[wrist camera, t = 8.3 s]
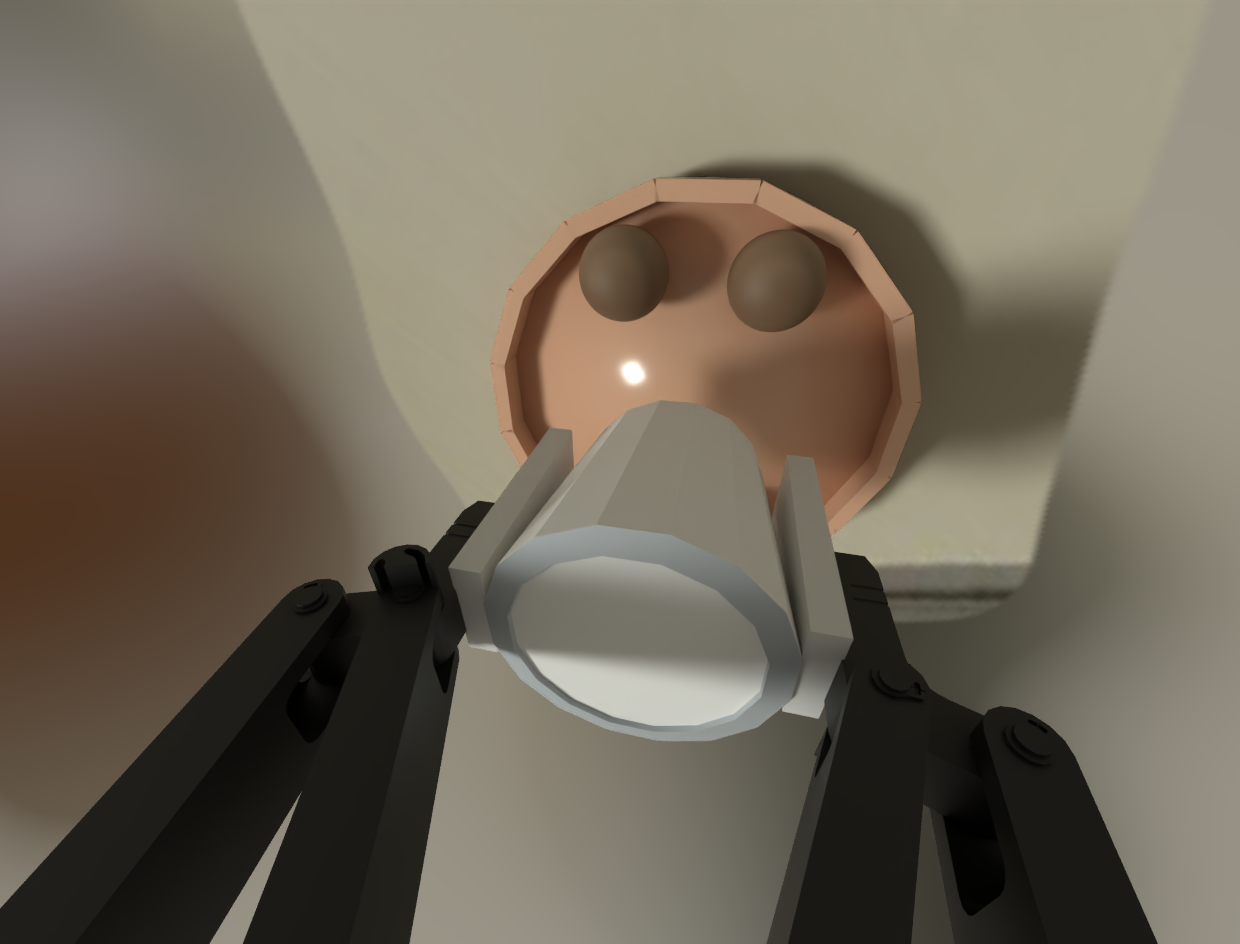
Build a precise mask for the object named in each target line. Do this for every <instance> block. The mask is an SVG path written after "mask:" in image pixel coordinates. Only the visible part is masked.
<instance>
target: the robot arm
mask: <svg viewBox="0 0 1240 944" xmlns="http://www.w3.org/2000/svg"><path fill="white" fill-rule="evenodd" d="M573 469H574V457H573V439H572V430H567V429H559V428H549V430H548V431H547V432H546V434H545V435H544V436H543V438H542V439H541V441H540V442H539V443H538V445H537V446H536V447H535V449H534V450H533V452H532V453H531V454H530V456H529V457H528V458H527V460H526V461H525V463H524V464H523V465H522V467H521V468H520V469H519V471H518V472H517V474H516V475H515V476H514V478H513V479H512V480H511V482H510V483H509V485H508V486H507V487H506V489H505V490H504V491H503V493H502V494H501V496H500V497H499V498H498V500H497V501H496V502H495V503H491V502H484V501H477V502H476V503H474V504H473V505H471V506H470V507H468V508H467V509H465V510H464V511H463V512H462V513H461V514H460V516H459V517H458V518H457V519H456V521H455V522H454V525H452V526H451V527H450V528H449V529H448V531H447V532H446V535H444V536H443V537H442V538H441V539H440V540H439V542H438V543H437V544H436V545H435V547H434V548H433V549H432V550H431V552H430V553H429V552H428V550H427V549H426V548H423V547H421V546H419V545H402V546H398V547H394V548H391V549H389V550H387V551H385V552H383V553H381V554H380V555H379V556H377V557H376V558H375V559H374V560H373V561H372V562H371V564H370V565H369V567H368V570H369V572H370V575H371V577H372V580H373V582H374V584H375V587H376V589H377V591H370V592H359V593H348V594H346V592H345V590H344V588H343V586H342V585H341V584H340V583H339V582H338V581H335V580H331V579H320V580H319V579H318V580H314V581H312V582H308V583H305V584H303V585H301V586H299V587H297V588H295V589H293V590H292V591H291V592H290V593H289V594H287V595H286V596H285V597H284V598H283V599H282V600H281V601H280V602H279V604H277V606H276V607H275V608H274V609H273V610H272V611H271V612H270V613H269V614H268V615H267V616H266V618H265V619H264V620H263V621H262V622H261V623H260V624H259V625H258V626H257V628H256V629H255V630H254V631H253V632H252V633H251V634H250V635H249V636H248V637H247V638H246V639H245V641H244V642H243V643H242V644H241V645H240V646H239V647H238V648H237V649H236V651H235V652H234V653H233V654H232V655H231V656H230V657H229V658H228V659H227V660H226V662H225V663H224V664H223V665H222V666H221V667H220V668H219V669H218V670H217V672H215V673H214V675H213V676H212V677H211V678H210V679H209V680H208V681H207V682H206V683H205V684H204V686H203V687H202V688H201V689H200V690H199V691H198V692H197V693H196V694H195V696H194V697H193V698H192V699H191V700H190V701H189V702H188V703H187V704H186V705H185V706H184V707H183V709H182V710H181V711H180V712H179V713H178V714H177V715H176V716H175V718H174V719H173V720H172V721H171V722H170V723H169V724H168V725H167V726H166V727H165V728H164V729H163V731H162V732H161V733H160V734H159V735H158V736H157V737H156V738H155V739H154V740H153V741H152V743H151V744H150V745H149V746H148V747H147V748H146V749H145V750H144V751H143V753H142V754H141V755H140V756H139V757H138V758H137V759H136V760H135V761H134V762H133V763H132V765H131V766H130V767H129V768H128V769H127V770H126V771H125V772H124V773H123V774H122V776H121V777H120V778H119V779H118V780H117V781H116V782H115V783H114V784H113V785H112V786H111V788H110V789H109V790H108V791H107V792H106V793H105V794H104V795H103V796H102V798H101V799H100V800H99V801H98V802H97V803H96V804H95V805H94V806H93V807H92V808H91V810H90V811H89V812H88V813H87V814H86V815H85V816H84V817H83V818H82V819H81V821H80V822H79V823H78V824H77V825H76V826H75V827H74V828H73V829H72V830H71V831H70V833H69V834H68V835H67V836H66V837H65V838H64V839H63V840H62V841H61V842H60V844H59V845H58V846H57V847H56V848H55V849H54V850H53V851H52V852H51V853H50V854H49V856H48V857H47V858H46V859H45V860H44V861H43V862H42V863H41V864H40V866H39V867H38V868H37V869H36V870H35V871H34V872H33V873H32V874H31V875H30V876H29V877H28V879H27V880H26V881H25V882H24V883H23V884H22V885H21V886H20V887H19V888H18V890H17V891H16V892H15V893H14V894H13V895H12V896H11V897H10V898H9V900H8V901H7V902H6V903H5V904H4V905H3V906H2V907H1V908H0V944H210V942H211V940H212V939H213V937H214V935H215V934H216V932H217V930H218V929H219V927H220V925H221V923H222V922H223V920H224V919H225V917H226V915H227V914H228V912H229V910H230V909H231V907H232V905H233V904H234V902H235V900H236V899H237V897H238V896H239V894H240V892H241V890H242V889H243V887H244V886H245V884H246V882H247V880H248V879H249V877H250V876H251V874H252V872H253V871H254V869H255V867H256V866H257V864H258V862H259V861H260V859H261V857H262V856H263V854H264V852H265V851H266V849H267V847H268V846H269V844H270V843H271V841H272V839H273V838H274V835H275V834H276V833H277V831H278V829H279V828H280V826H281V824H282V823H283V821H284V819H285V818H286V816H287V814H288V813H289V811H290V810H291V808H292V806H293V804H294V803H295V801H296V799H297V798H298V796H299V795H300V793H301V795H300V797H299V800H298V803H297V806H296V808H295V810H294V813H293V815H292V818H291V821H290V823H289V826H288V828H287V831H286V833H285V836H284V839H283V841H282V844H281V846H280V849H279V852H278V854H277V857H276V860H275V862H274V865H273V867H272V870H271V872H270V875H269V877H268V880H267V883H266V885H265V888H264V891H263V893H262V896H261V898H260V901H259V903H258V906H257V908H256V911H255V914H254V916H253V919H252V922H251V924H250V927H249V929H248V932H247V934H246V937H245V939H244V942H243V944H409V942H410V937H411V931H412V926H413V920H414V914H415V908H416V903H417V897H418V891H419V886H420V880H421V874H422V868H423V863H424V856H425V851H426V846H427V840H428V834H429V829H430V823H431V817H432V812H433V805H434V800H435V794H436V789H437V783H438V777H439V772H440V766H441V760H442V755H443V749H444V743H445V737H446V732H447V726H448V720H449V715H450V708H451V703H452V697H453V692H454V686H455V680H456V674H457V669H458V663H459V650H458V647H457V645H458V644H459V642H460V641H461V639H462V637H463V635H464V634H465V632H466V635H467V639H468V643H469V646H470V647H474V648H480V649H485V650H489V651H494V652H498V651H499V650H498V649H497V647H496V646H495V645H494V643H493V641H492V637H491V633H490V628H489V624H488V620H487V616H486V612H485V608H484V604H483V603H484V600H485V598H486V595H487V592H488V589H489V586H490V583H491V580H492V577H493V574H494V571H495V568H496V566H497V565H498V563H499V562H500V561H501V559H502V558H503V557H504V556H505V554H506V553H507V552H508V551H509V549H510V548H511V547H512V546H513V544H514V543H515V542H516V541H517V539H518V538H519V537H520V536H521V534H522V533H523V532H524V530H525V529H526V528H527V527H528V525H529V524H530V523H531V522H532V520H533V519H534V518H535V517H536V515H537V514H538V513H539V512H540V510H541V509H542V508H543V507H544V505H545V504H546V503H547V501H548V500H549V499H550V498H551V496H552V495H553V494H554V493H555V491H556V490H557V489H558V488H559V486H560V485H561V484H562V483H563V481H564V480H565V479H566V478H567V476H568V475H569V474H570V472H571V471H572V470H573ZM772 522H773V526H774V531H775V535H776V540H777V544H778V549H779V554H780V558H781V563H782V567H783V572H784V576H785V581H786V586H787V590H788V595H789V599H790V604H791V608H792V613H793V618H794V622H795V627H796V631H797V636H798V640H799V645H800V650H801V654H802V659H803V662H802V665H801V668H800V672H799V675H798V678H797V681H796V684H795V688H794V691H793V694H792V697H791V700H790V701H789V702H788V703H787V704H786V705H784V706H783V707H782V710H783V711H784V712H789V713H794V714H799V715H803V716H808V717H813V718H819V717H820V714H821V712H822V710H823V707H824V705H825V711H826V718H827V724H828V726H827V728H826V730H825V732H824V734H823V737H822V739H821V741H820V743H819V745H818V747H817V749H816V752H815V754H814V755H815V756H817V759H816V762H815V766H814V770H813V774H812V777H811V781H810V785H809V788H808V792H807V796H806V800H805V803H804V807H803V811H802V814H801V818H800V822H799V826H798V829H797V833H796V837H795V840H794V844H793V848H792V852H791V855H790V859H789V863H788V866H787V870H786V874H785V878H784V881H783V885H782V888H781V892H780V896H779V899H778V903H777V907H776V911H775V914H774V918H773V922H772V926H771V929H770V933H769V937H768V941H767V944H911V938H912V926H913V914H914V903H915V891H916V880H917V879H916V878H917V868H918V856H919V844H920V832H921V821H922V809H923V804H924V805H925V806H927V807H929V808H930V812H931V818H932V823H933V829H934V834H935V840H936V845H937V850H938V855H939V861H940V866H941V872H942V878H943V883H944V888H945V894H946V899H947V905H948V910H949V916H950V921H951V927H952V932H953V938H954V943H955V944H1158V943H1157V941H1156V939H1155V936H1154V934H1153V932H1152V930H1151V927H1150V925H1149V923H1148V921H1147V918H1146V916H1145V914H1144V912H1143V909H1142V907H1141V905H1140V902H1139V900H1138V898H1137V895H1136V893H1135V891H1134V889H1133V886H1132V884H1131V882H1130V880H1129V878H1128V875H1127V873H1126V871H1125V869H1124V866H1123V864H1122V862H1121V859H1120V857H1119V855H1118V853H1117V850H1116V848H1115V846H1114V844H1113V842H1112V839H1111V837H1110V835H1109V832H1108V830H1107V828H1106V825H1105V823H1104V821H1103V819H1102V816H1101V814H1100V812H1099V810H1098V807H1097V805H1096V803H1095V801H1094V798H1093V796H1092V794H1091V792H1090V789H1089V787H1088V785H1087V783H1086V780H1085V778H1084V776H1083V773H1082V771H1081V769H1080V767H1079V764H1078V763H1077V760H1076V758H1075V756H1074V754H1073V753H1072V751H1071V750H1070V748H1069V747H1068V745H1067V744H1066V742H1065V741H1064V740H1063V739H1062V738H1061V737H1060V736H1059V735H1058V734H1057V733H1056V732H1055V731H1054V730H1053V729H1052V728H1051V727H1050V726H1049V725H1047V724H1046V723H1044V722H1043V721H1041V720H1040V719H1038V718H1036V717H1035V716H1033V715H1031V714H1028V713H1026V712H1024V711H1021V710H1019V709H1016V708H1011V707H1002V706H1000V707H996V708H993V709H990V710H988V711H987V713H986V714H985V715H981V714H979V713H977V712H975V711H972V710H970V709H968V708H966V707H964V706H961V705H959V704H957V703H955V702H952V701H950V700H948V699H946V698H944V697H942V696H940V695H938V694H937V693H935V692H934V691H933V690H931V689H930V688H929V686H928V685H927V683H926V681H925V680H924V678H923V676H922V675H921V674H920V673H919V672H918V671H917V670H916V669H914V668H913V667H912V666H911V665H910V664H908V663H907V660H906V658H905V656H904V652H903V649H902V646H901V643H900V640H899V637H898V633H897V630H896V627H895V624H894V621H893V618H892V614H891V611H890V608H889V607H888V602H887V599H886V596H885V593H884V592H883V586H882V583H881V580H880V577H879V574H878V572H877V570H876V569H875V568H874V567H873V566H872V565H871V563H870V562H869V561H868V560H867V559H866V557H865V556H859V555H852V554H846V553H839V552H834V549H833V544H832V540H831V535H830V531H829V526H828V522H827V517H826V513H825V508H824V504H823V500H822V495H821V491H820V486H819V482H818V477H817V473H816V468H815V464H814V459H813V458H811V457H803V456H794V455H787V456H786V460H785V465H784V469H783V473H782V477H781V482H780V486H779V490H778V494H777V499H776V503H775V507H774V511H773V515H772ZM301 791H302V792H301Z"/></svg>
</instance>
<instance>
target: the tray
mask: <svg viewBox="0 0 1240 944" xmlns="http://www.w3.org/2000/svg"><path fill="white" fill-rule="evenodd" d="M620 224H628V225H634V226H638V227H640V228H642V229H644V230H646V231H648V232H649V233H650V234H651V235H653V236H654V237H655V238H656V239H657V240H658V242H659V243H660V245H661V246H662V248H663V250H664V252H665V255H666V257H667V261H668V266H669V279H668V285H667V289H666V291H665V294H664V296H663V298H662V300H661V301H660V303H659V304H658V305H657V306H656V308H655V309H654V310H653V311H651V312H650V313H649V314H648V315H646V316H644V317H642V318H640V319H637V320H634V321H629V322H619V321H614V320H610V319H608V318H605V317H603V316H602V315H600V314H599V313H597V312H596V311H595V310H594V309H593V308H592V307H591V306H590V305H589V303H588V302H587V300H586V299H585V297H584V295H583V292H582V289H581V286H580V281H579V265H580V261H581V257H582V254H583V252H584V250H585V248H586V246H587V244H588V243H589V242H590V240H591V239H592V238H593V237H594V236H595V235H596V234H598V233H599V232H600V231H602V230H604V229H606V228H608V227H611V226H614V225H620ZM774 230H792V231H796V232H799V233H801V234H803V235H805V236H807V237H808V238H810V239H811V240H812V241H813V242H814V243H815V244H816V245H817V246H818V247H819V249H820V250H821V252H822V254H823V257H824V259H825V262H826V267H827V283H826V288H825V292H824V295H823V297H822V299H821V301H820V303H819V305H818V306H817V308H816V309H815V310H814V312H813V313H812V314H811V315H810V316H809V317H808V318H807V319H806V320H804V321H803V322H802V323H800V324H799V325H797V326H795V327H793V328H790V329H788V330H784V331H780V332H762V331H758V330H755V329H753V328H751V327H749V326H747V325H746V324H744V323H743V322H742V321H741V320H740V319H739V318H738V317H737V316H736V314H735V313H734V312H733V310H732V308H731V306H730V303H729V299H728V294H727V279H728V274H729V271H730V268H731V265H732V263H733V261H734V259H735V258H736V256H737V254H738V253H739V252H740V251H741V249H742V248H743V247H744V246H745V245H746V244H747V243H749V242H750V241H751V240H752V239H754V238H756V237H757V236H759V235H761V234H764V233H766V232H770V231H774ZM912 312H913V311H912V310H911V308H910V307H909V305H908V304H907V303H906V301H905V300H904V298H903V297H902V295H901V294H900V292H899V291H898V289H897V288H896V286H895V285H894V283H893V282H892V280H891V279H890V277H889V276H888V274H887V273H886V272H885V270H884V269H883V267H882V266H881V264H880V263H879V261H878V260H877V258H876V257H875V255H874V254H873V252H872V251H871V249H870V248H869V246H868V245H867V243H866V242H865V241H864V239H863V238H862V236H861V235H860V233H859V232H858V231H857V230H856V229H855V228H853V227H852V226H850V225H849V224H847V223H845V222H843V221H841V220H839V219H837V218H835V217H834V216H832V215H830V214H828V213H826V212H824V211H822V210H820V209H818V208H816V207H815V206H813V205H811V204H809V203H808V202H806V201H805V200H803V199H801V198H798V197H796V196H794V195H792V194H790V193H788V192H786V191H784V190H782V189H780V188H778V187H776V186H775V185H773V184H771V183H769V182H767V181H765V180H763V179H762V181H761V180H760V178H723V177H712V176H711V177H660V178H655V179H652V180H650V181H648V182H646V183H644V184H642V185H640V186H637V187H635V188H633V189H631V190H629V191H627V192H625V193H622V194H620V195H618V196H616V197H614V198H612V199H610V200H607V201H605V202H603V203H601V204H599V205H597V206H594V207H592V208H590V209H588V210H586V211H584V212H582V213H579V214H577V215H575V216H573V217H571V218H569V219H567V220H566V221H564V222H563V223H562V224H561V225H560V227H559V228H558V229H557V230H556V231H555V233H554V234H553V235H552V236H551V238H550V239H549V240H548V241H547V242H546V244H545V245H544V246H543V247H542V249H541V250H540V251H539V252H538V253H537V255H536V256H535V257H534V258H533V259H532V261H531V262H530V263H529V264H528V266H527V267H526V268H525V269H524V270H523V272H522V273H521V274H520V275H519V277H518V278H517V279H516V280H515V281H514V283H513V284H512V285H511V286H510V289H509V290H508V294H507V298H506V302H505V306H504V310H503V314H502V318H501V321H500V325H499V329H498V333H497V337H496V341H495V345H494V349H493V353H492V357H491V360H490V362H491V363H490V366H491V373H492V379H493V386H494V392H495V399H496V405H497V412H498V418H499V425H500V431H502V432H501V433H502V435H503V437H504V439H505V440H506V442H507V444H508V446H509V448H510V449H511V451H512V453H513V455H514V456H515V458H516V460H517V462H518V464H519V465H520V467H522V465H523V464H524V463H525V461H526V460H527V458H528V457H529V456H530V454H531V453H532V452H533V450H534V449H535V447H536V446H537V445H538V443H539V442H540V441H541V439H542V438H543V436H544V435H545V434H546V432H547V431H548V430H549V428H559V429H567V430H572V439H573V457H574V467H575V466H576V465H577V464H578V462H579V461H580V460H581V459H582V457H583V456H584V455H585V454H586V452H587V451H588V450H589V449H590V447H591V446H592V445H593V443H594V442H595V441H596V440H597V438H598V437H599V436H600V435H601V433H602V432H603V431H604V430H605V429H606V428H607V427H608V426H609V425H611V424H612V423H613V422H614V421H615V420H616V419H618V418H619V417H620V416H621V415H622V414H623V413H625V412H626V411H627V410H629V409H632V408H636V407H639V406H642V405H646V404H649V403H652V402H656V401H659V400H665V401H677V402H689V403H697V404H700V405H702V406H704V407H706V408H708V409H710V410H712V411H714V412H716V413H719V414H721V415H723V416H725V417H727V418H729V419H730V420H731V421H732V422H733V423H734V424H735V425H736V426H737V427H738V428H739V429H740V431H741V432H742V433H743V434H744V435H745V436H746V437H747V438H748V439H749V440H750V441H751V443H752V444H753V446H754V450H755V453H756V456H757V459H758V462H759V466H760V469H761V472H762V476H763V480H764V485H765V490H766V494H767V499H768V503H769V508H770V512H771V517H772V515H773V511H774V507H775V503H776V499H777V494H778V490H779V486H780V482H781V477H782V473H783V469H784V465H785V460H786V456H787V455H794V456H803V457H811V458H813V459H814V464H815V468H816V473H817V477H818V482H819V486H820V491H821V495H822V500H823V504H824V508H825V513H826V517H827V522H828V526H829V531H830V535H832V534H835V533H837V531H839V530H840V529H841V528H842V527H843V526H844V525H845V524H846V523H847V522H848V521H849V520H850V519H851V518H852V517H853V516H854V515H855V514H856V513H857V512H858V511H859V510H860V509H861V508H862V507H863V506H864V505H865V504H866V503H867V502H868V501H869V500H870V499H871V498H872V497H873V496H874V495H875V494H876V493H877V492H878V491H879V490H880V489H881V488H882V487H883V486H884V485H885V484H886V483H887V482H888V481H889V480H890V479H891V478H890V477H892V476H893V474H894V471H895V469H896V466H897V464H898V461H899V459H900V456H901V454H902V451H903V449H904V446H905V443H906V441H907V438H908V436H909V433H910V431H911V428H912V426H913V423H914V421H915V418H916V416H917V413H918V411H919V408H920V406H921V402H920V401H922V398H921V387H920V377H919V366H918V355H917V345H916V334H915V323H914V314H913V313H912Z"/></svg>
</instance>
